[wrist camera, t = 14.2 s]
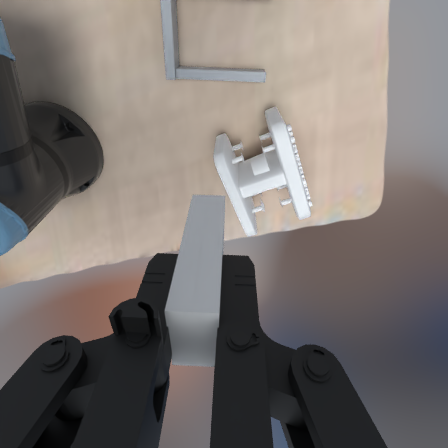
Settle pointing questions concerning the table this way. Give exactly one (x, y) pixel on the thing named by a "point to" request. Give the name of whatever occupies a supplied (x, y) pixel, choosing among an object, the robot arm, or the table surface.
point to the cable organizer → (263, 172)
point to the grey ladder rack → (188, 71)
